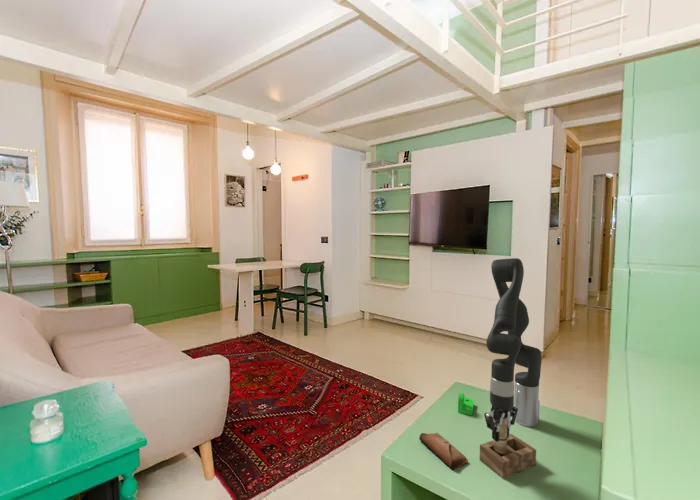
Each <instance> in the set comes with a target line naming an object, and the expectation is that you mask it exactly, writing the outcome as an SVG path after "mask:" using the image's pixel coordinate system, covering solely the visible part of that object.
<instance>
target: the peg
mask: <svg viewBox="0 0 700 500" xmlns="http://www.w3.org/2000/svg"><path fill="white" fill-rule="evenodd" d="M507 419H508V418H504V419H503V421H502V425H500V428H499V441H498V442H496V441H495V440H494V450H495V451H496V452H497V453H500V454H505V453H506V451H507ZM495 420H496V421H498V420H497V419H495ZM498 422H499V421H498ZM496 425H497V424H496V423H495V426H496Z"/></svg>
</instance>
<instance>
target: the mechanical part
mask: <svg viewBox="0 0 700 500" xmlns="http://www.w3.org/2000/svg"><path fill="white" fill-rule="evenodd" d="M457 401H458V402H457V404H458V405H457V413H459V414H464V415H469V416H473V413H474V407H475V401H474V400H473V399H472V398H469V397H466V396H465V393H463V392H459V393H458V399H457Z"/></svg>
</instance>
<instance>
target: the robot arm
mask: <svg viewBox="0 0 700 500" xmlns="http://www.w3.org/2000/svg"><path fill="white" fill-rule="evenodd" d="M490 268H491V269H490V270H491V274H492V278H493V281H494V284H495V288H496V290H497V293H498V296H499V297H498V298H499V300H498V301H497V303H496V305H495V308H494V309H495V310H494V311H495V312H494V321H493V324H492V327H491V329H490V331H489V333H488V335H487V338H486V342H485V343H486V344H485V345H486V347H487V350H488V351H489V352H490V353H492V354H497V355H504V356H506V357H505V358H496V359H495V358H494V359H493V360H492V362H491V378H490V385H489V387H490V388H489V401H490V404H491V407H490V412H484V414H483V415H484V419H485V423H486V427H487V428H488V429H489V430H491V438H492V440H495V441H496V442H498V441H499V428H500V425H502V421H503V419H504V418H508V419H507V438H509V434H510V428H511V427H512V426H513V425H515V424H516V423H517V424H519V425H521V426H523V427H528V428H533V427H536V426H538V424H539V422H540V404H541V403H540V400H539V395H540V394H539V392H540V380H541V369H542V362H543V361H542V356H543V354H542V351H541V350H540V349H539V348H537V347H535V346H531V345H527V344H524V343H523V341H522V336H523V334H524V332H525V331H526V329H527V328H528V327H529V324H530V317H529V313H528V309H527V308H528V307H527V306H526V304H525V303H524V301H523V300H521V298H520V295H521V291H522V286H523V285H522V284H523V280H524V275H525V274H524V273H525V271H524V264H523V262H522V260H521V259H520V258H517V257H515V258H511V257H510V258H498V259H494V260H493V261H492V262H491V267H490ZM507 283H510V285H509V286H508V284H507ZM503 332H507V333H503ZM515 365H517V366H521V367H523V368H526V369H527V371H519V372H516V373H515ZM495 419H497V420H498V421H499V422H498V421H496V420H495ZM495 423H496V424H497V425H496V426H495Z"/></svg>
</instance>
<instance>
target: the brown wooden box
mask: <svg viewBox="0 0 700 500" xmlns="http://www.w3.org/2000/svg"><path fill="white" fill-rule="evenodd" d="M479 461H480V462H481V463H482V464H484V465H485V466H486V467H487V468H489V469H490V470H491V471H492V472H494V473H495V474H496V475H497V476H499V477H500V478H501V479H502V480H503V479H506V478H508V477H510V476H513V475H516V474H518V473H520V472H523V471H526V470H527V469H530V468H532V467H535V466H536V463H537V449H536V448H535V447H533V446H531V445H530V444H528V443H527V442H525V441H523V440H522V439H520V438H519V437H518V436H516V435H514V434H513V433H509V438H507V451H506V453H505V454H500V453H497V452H496V451H495V450H494V440H493V439H492V440H490V441H487V442H485V443H481V444H479Z"/></svg>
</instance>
